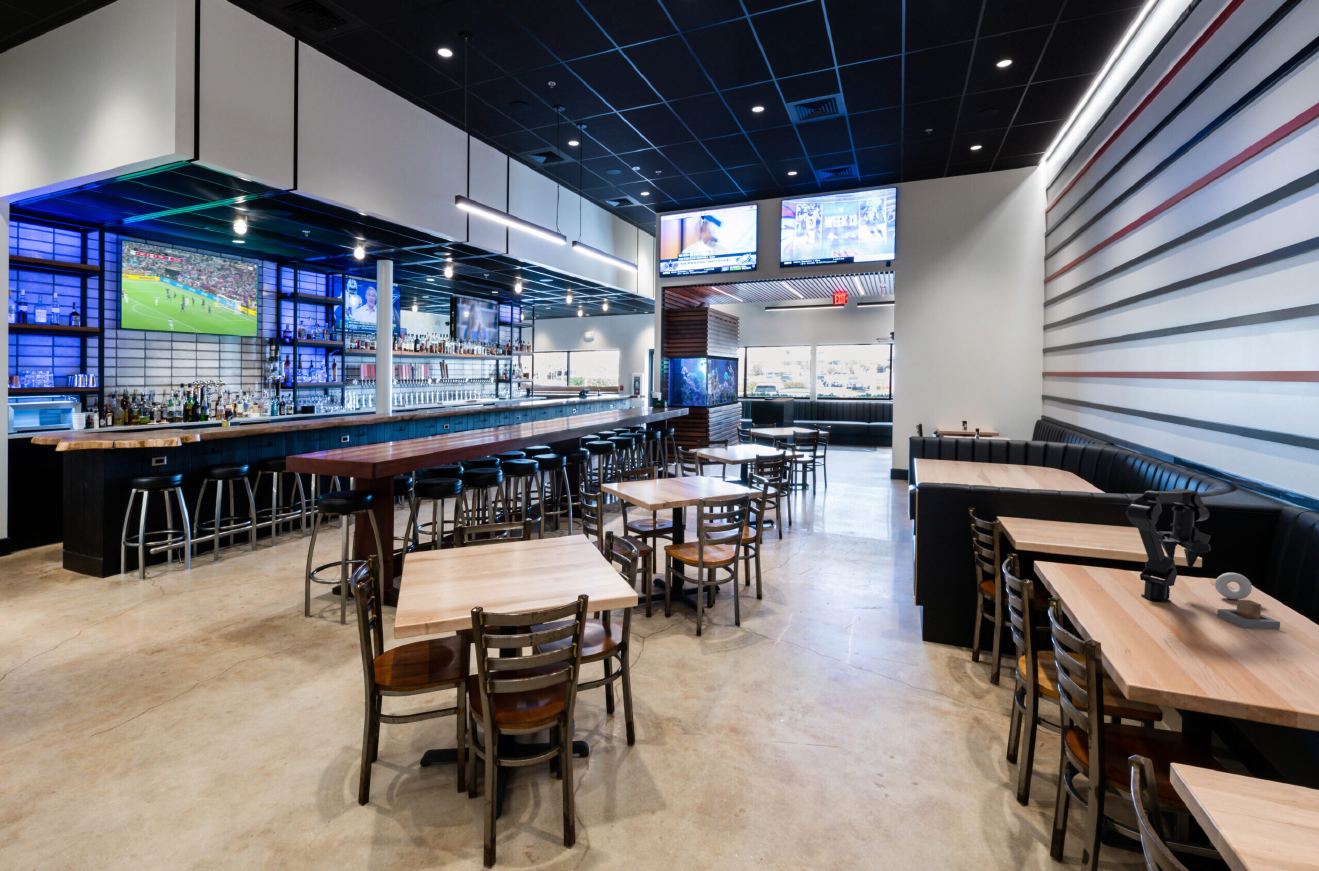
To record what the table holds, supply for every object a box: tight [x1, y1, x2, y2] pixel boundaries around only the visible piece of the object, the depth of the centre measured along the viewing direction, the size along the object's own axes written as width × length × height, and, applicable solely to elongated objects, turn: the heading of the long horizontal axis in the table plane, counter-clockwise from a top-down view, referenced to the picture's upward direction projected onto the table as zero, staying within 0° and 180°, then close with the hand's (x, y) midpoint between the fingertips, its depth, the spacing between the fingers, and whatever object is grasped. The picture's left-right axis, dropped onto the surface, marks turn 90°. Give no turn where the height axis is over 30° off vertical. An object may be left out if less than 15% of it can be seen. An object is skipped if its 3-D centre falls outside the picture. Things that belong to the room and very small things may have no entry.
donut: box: [1214, 572, 1253, 600], centre depth 221 cm, size 10×4×10 cm, turn 56°
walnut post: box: [1236, 599, 1262, 619], centre depth 199 cm, size 4×4×7 cm
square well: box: [1216, 608, 1281, 630], centre depth 200 cm, size 11×11×2 cm
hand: (1180, 563), depth 225 cm, fingers open, 9 cm apart
